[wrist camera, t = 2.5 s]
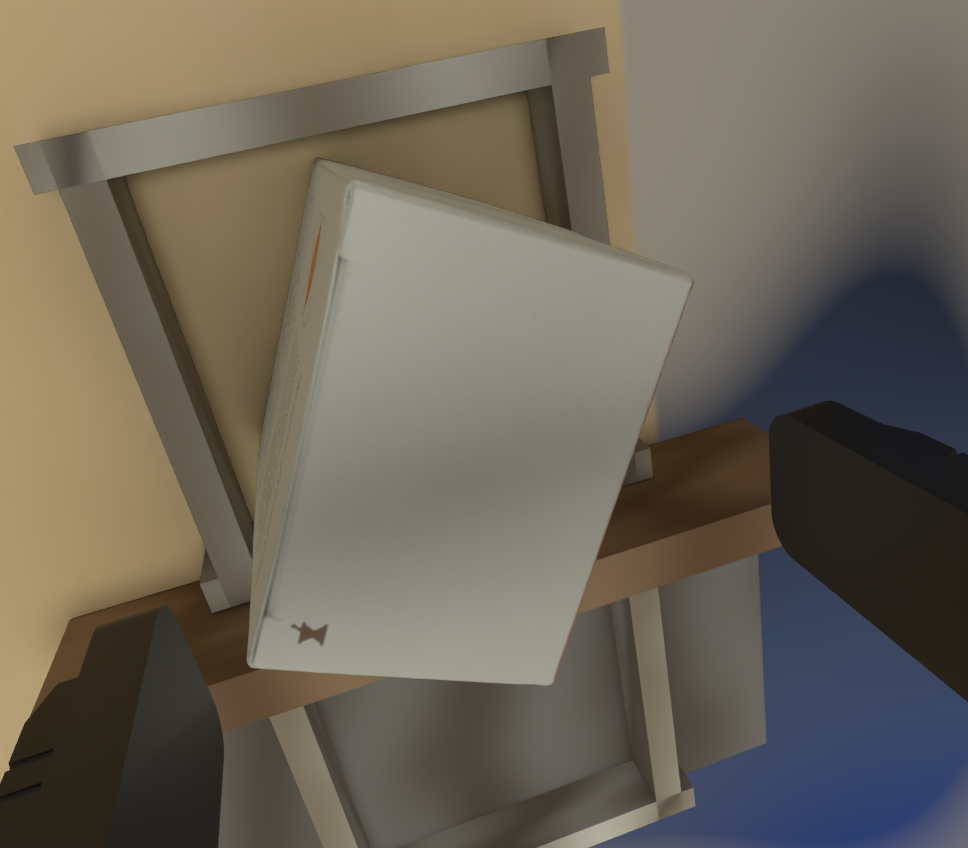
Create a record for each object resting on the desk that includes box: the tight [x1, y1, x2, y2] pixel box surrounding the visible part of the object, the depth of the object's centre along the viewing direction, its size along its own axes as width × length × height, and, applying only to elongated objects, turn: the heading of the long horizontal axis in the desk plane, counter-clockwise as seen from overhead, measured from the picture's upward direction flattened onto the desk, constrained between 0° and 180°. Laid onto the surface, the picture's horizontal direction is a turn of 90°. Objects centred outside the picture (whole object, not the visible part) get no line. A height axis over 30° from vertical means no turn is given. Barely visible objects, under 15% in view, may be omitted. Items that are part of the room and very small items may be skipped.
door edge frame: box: [14, 27, 782, 848], centre depth 22 cm, size 22×27×5 cm
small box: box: [247, 158, 694, 686], centre depth 16 cm, size 8×6×10 cm
